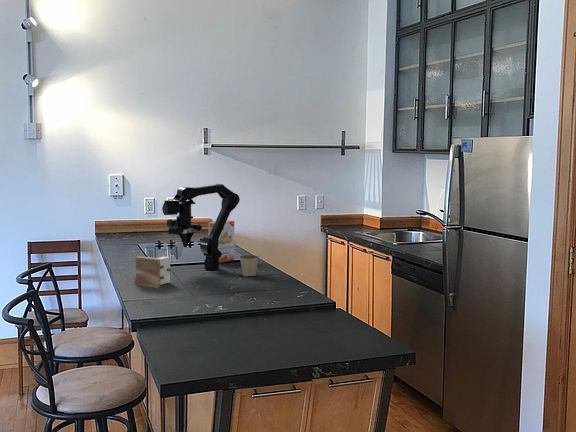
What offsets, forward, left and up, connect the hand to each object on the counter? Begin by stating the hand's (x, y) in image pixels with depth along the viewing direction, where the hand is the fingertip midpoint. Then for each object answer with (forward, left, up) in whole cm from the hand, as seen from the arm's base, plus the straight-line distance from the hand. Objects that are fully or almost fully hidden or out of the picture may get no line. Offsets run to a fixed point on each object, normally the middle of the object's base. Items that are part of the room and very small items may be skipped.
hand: (185, 247), depth 301 cm
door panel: (+7, +25, -12) cm, 29 cm away
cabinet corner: (+10, +22, -12) cm, 27 cm away
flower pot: (-30, +6, -12) cm, 33 cm away
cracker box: (-15, -29, -12) cm, 35 cm away
